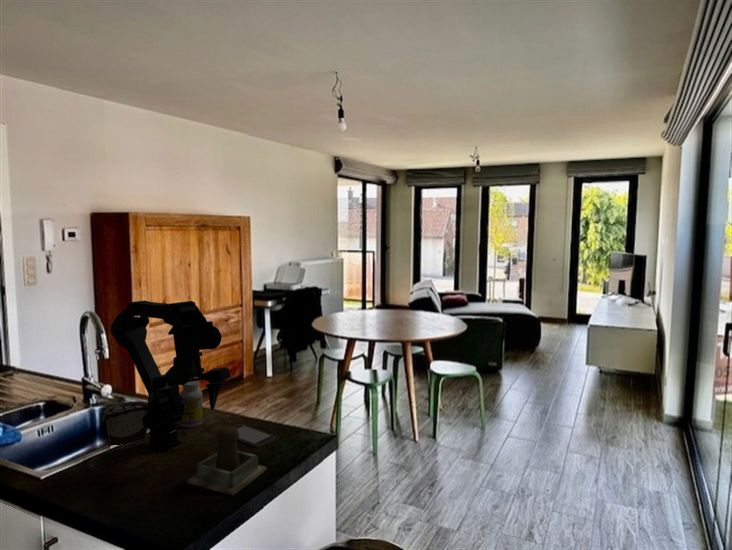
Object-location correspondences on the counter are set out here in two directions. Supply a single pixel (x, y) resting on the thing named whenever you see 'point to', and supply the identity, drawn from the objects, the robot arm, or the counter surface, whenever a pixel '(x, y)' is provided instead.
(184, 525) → the counter surface
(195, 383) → the supplement bottle
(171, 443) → the robot arm
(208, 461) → the collar holder
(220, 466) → the cork
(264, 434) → the smartphone
